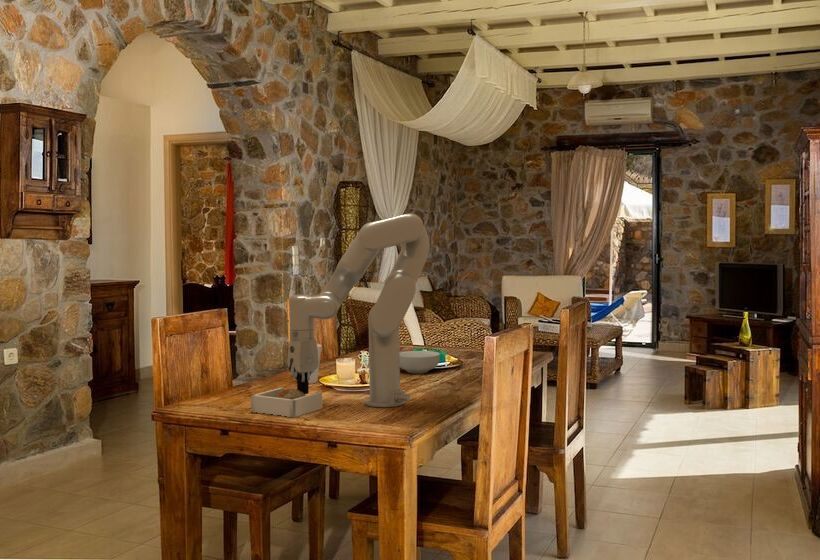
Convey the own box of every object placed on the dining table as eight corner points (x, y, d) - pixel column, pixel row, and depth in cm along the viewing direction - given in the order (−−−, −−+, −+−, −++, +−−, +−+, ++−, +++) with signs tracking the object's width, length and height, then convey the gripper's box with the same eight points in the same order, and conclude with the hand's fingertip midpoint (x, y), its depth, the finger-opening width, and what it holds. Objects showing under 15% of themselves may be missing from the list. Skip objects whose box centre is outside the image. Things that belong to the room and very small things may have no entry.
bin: (322, 408, 255) (322, 392, 254) (293, 417, 243) (292, 400, 242) (281, 403, 263) (281, 387, 263) (251, 411, 251) (251, 395, 251)
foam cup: (318, 378, 305) (318, 343, 304) (324, 383, 296) (323, 346, 295) (293, 380, 302) (292, 344, 301) (297, 385, 293) (297, 348, 292)
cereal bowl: (448, 371, 318) (448, 352, 317) (420, 377, 305) (420, 358, 305) (415, 366, 329) (415, 348, 329) (386, 372, 317) (386, 353, 316)
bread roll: (295, 424, 250) (305, 401, 249) (265, 409, 251) (276, 385, 250) (305, 417, 259) (316, 394, 258) (277, 402, 261) (287, 379, 260)
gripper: (296, 338, 250) (297, 399, 251) (326, 332, 263) (327, 390, 264) (276, 336, 254) (277, 396, 255) (307, 331, 267) (308, 388, 268)
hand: (302, 393), depth 259 cm, fingers closed
